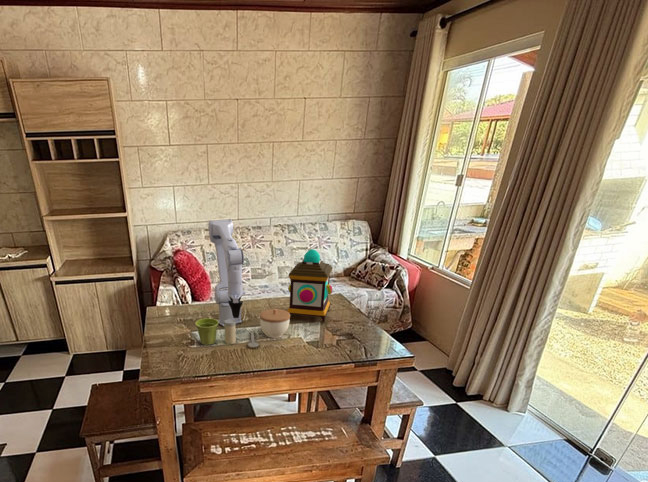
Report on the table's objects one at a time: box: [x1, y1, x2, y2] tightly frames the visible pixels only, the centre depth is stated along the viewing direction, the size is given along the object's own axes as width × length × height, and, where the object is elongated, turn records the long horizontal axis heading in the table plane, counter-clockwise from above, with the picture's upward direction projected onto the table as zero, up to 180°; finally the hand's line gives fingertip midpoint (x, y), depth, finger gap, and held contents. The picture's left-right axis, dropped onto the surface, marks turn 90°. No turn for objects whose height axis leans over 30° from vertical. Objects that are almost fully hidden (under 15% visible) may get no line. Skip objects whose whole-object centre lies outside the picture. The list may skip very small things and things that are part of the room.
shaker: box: [224, 319, 237, 345], centre depth 165 cm, size 5×5×9 cm
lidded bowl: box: [259, 308, 291, 339], centre depth 169 cm, size 13×13×11 cm
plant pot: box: [194, 317, 219, 346], centre depth 165 cm, size 9×9×9 cm
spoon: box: [247, 331, 260, 349], centre depth 167 cm, size 15×4×1 cm, turn 179°
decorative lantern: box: [286, 248, 334, 324], centre depth 183 cm, size 20×20×30 cm
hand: (235, 314), depth 165 cm, fingers open, 7 cm apart
